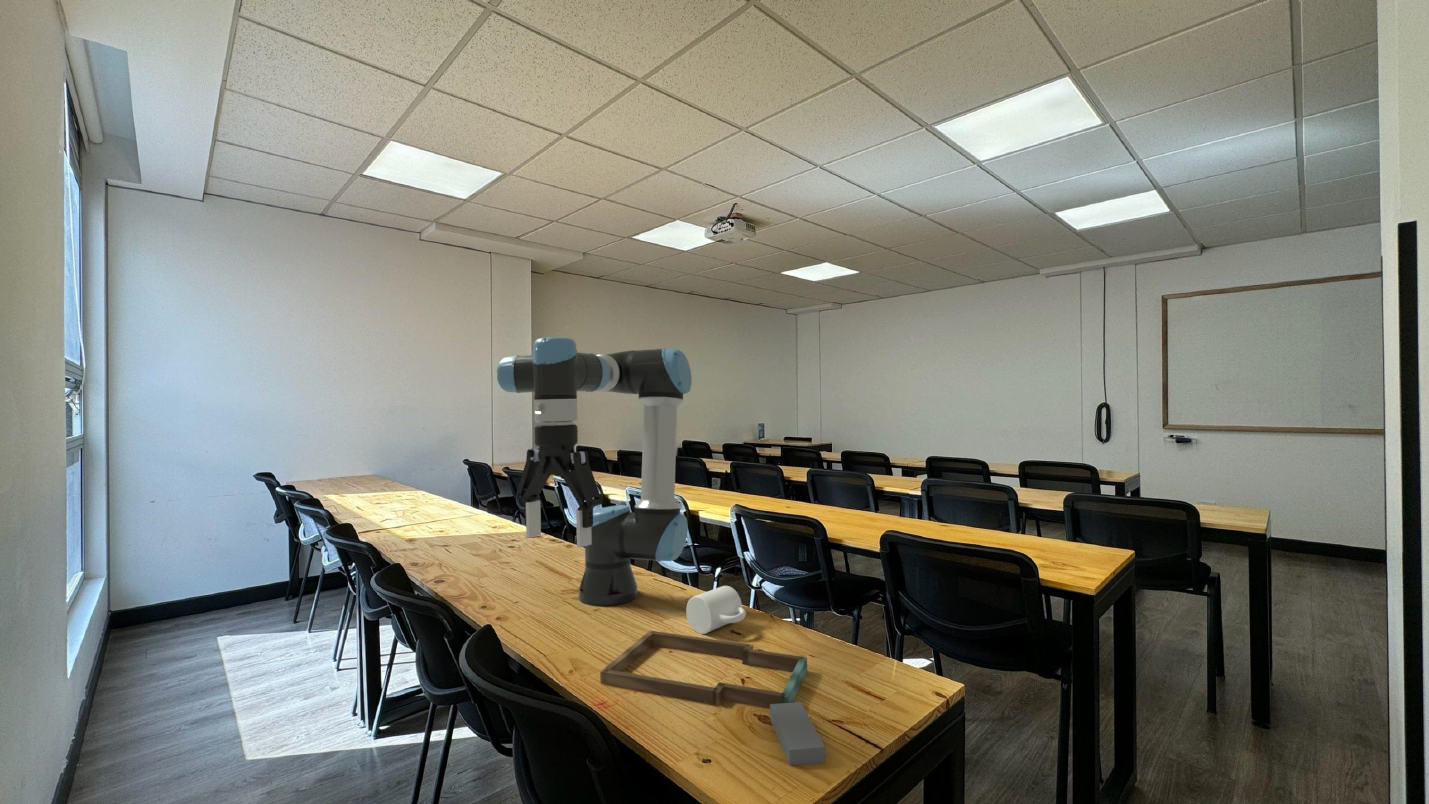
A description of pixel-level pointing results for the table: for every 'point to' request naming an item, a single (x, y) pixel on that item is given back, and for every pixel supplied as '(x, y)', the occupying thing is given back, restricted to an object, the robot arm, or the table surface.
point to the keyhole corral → (699, 692)
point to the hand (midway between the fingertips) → (558, 541)
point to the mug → (714, 609)
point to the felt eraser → (797, 734)
